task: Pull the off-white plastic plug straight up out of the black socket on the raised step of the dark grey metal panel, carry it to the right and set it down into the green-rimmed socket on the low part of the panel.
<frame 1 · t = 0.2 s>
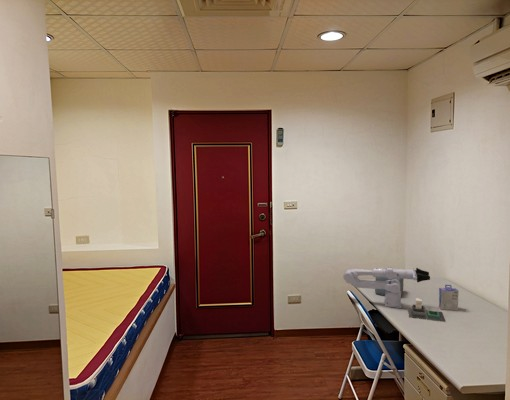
hand: (429, 275, 217), 21 cm above the table, tool horizontal, fingers open, 7 cm apart
plug: (418, 309, 212), point 3 cm above the table, touching jack panel
ink cartridge box: (448, 308, 220), on the table
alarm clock: (389, 293, 248), on the table
jack panel: (425, 315, 211), on the table
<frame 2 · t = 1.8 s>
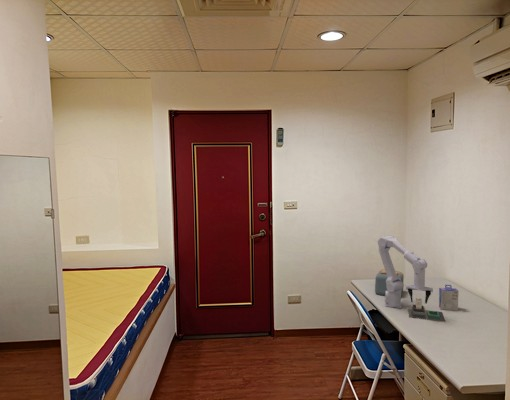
hand: (418, 302, 212), 7 cm above the table, tool pointing down, fingers open, 7 cm apart
nothing on the table moved.
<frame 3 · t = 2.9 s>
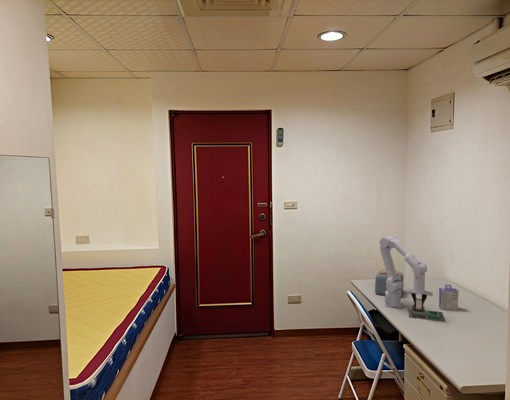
hand: (418, 306, 212), 5 cm above the table, tool pointing down, fingers closed on plug, 3 cm apart
plug: (418, 309, 212), point 3 cm above the table, touching gripper, jack panel
everything else where it was.
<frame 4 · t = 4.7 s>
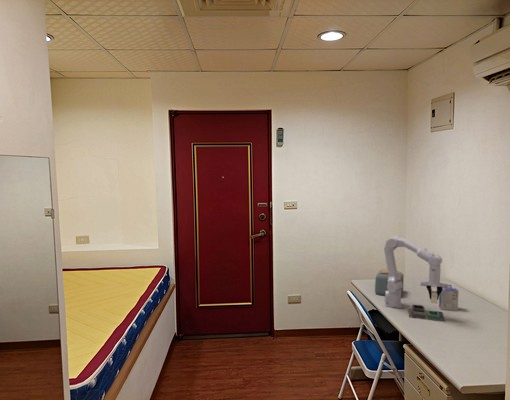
hand: (433, 298, 209), 10 cm above the table, tool pointing down, fingers closed on plug, 3 cm apart
plug: (433, 302, 209), point 8 cm above the table, touching gripper
everything else where it was.
when the fingers open (3 cm above the table, at t = 6.8 s): plug stays where it is, resting on jack panel.
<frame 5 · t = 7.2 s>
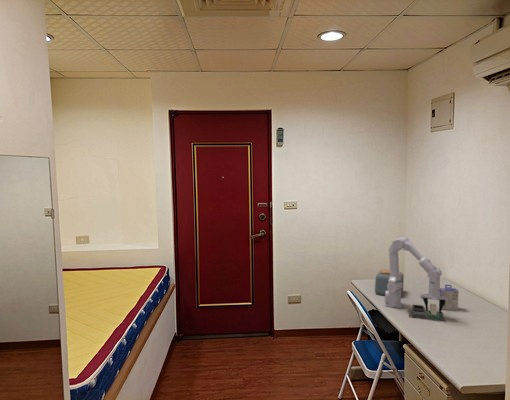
hand: (433, 311, 210), 3 cm above the table, tool pointing down, fingers open, 6 cm apart
plug: (433, 315, 210), resting on jack panel
everything else where it was.
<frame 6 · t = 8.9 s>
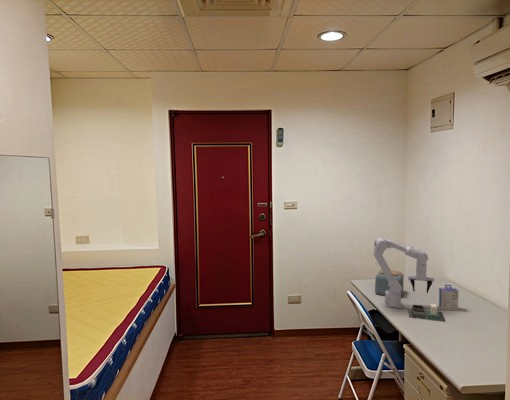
hand: (420, 291, 223), 9 cm above the table, tool pointing down, fingers open, 7 cm apart
nothing on the table moved.
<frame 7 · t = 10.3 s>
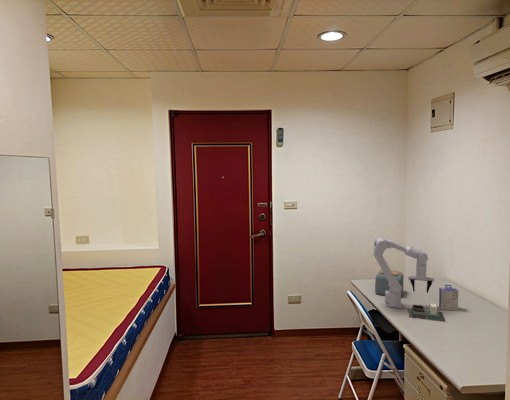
hand: (420, 291, 223), 9 cm above the table, tool pointing down, fingers open, 7 cm apart
nothing on the table moved.
at the end: plug 0.0 cm from the target spot on the jack panel, point 0.5 cm above the jack panel's base; plug tilted 0°; the gripper is holding nothing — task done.
